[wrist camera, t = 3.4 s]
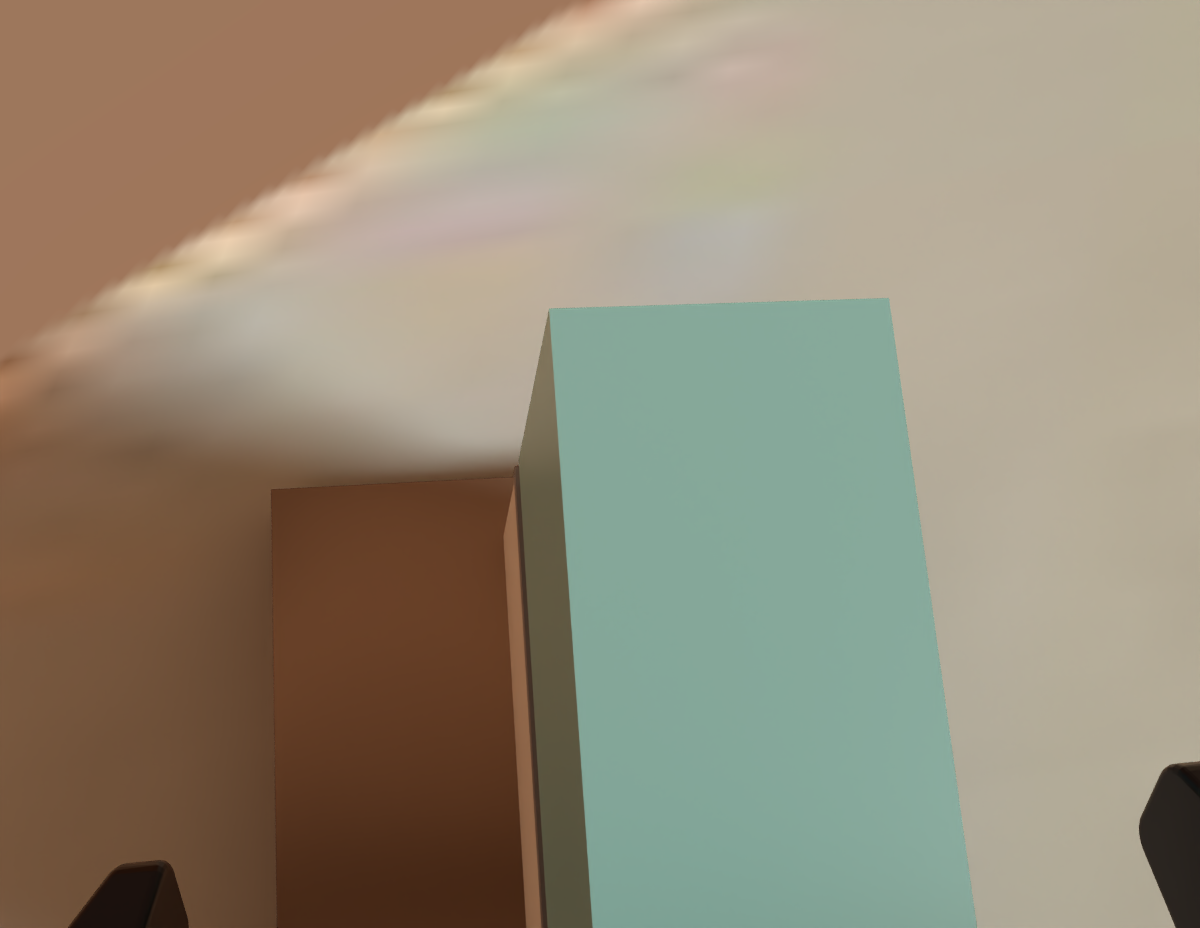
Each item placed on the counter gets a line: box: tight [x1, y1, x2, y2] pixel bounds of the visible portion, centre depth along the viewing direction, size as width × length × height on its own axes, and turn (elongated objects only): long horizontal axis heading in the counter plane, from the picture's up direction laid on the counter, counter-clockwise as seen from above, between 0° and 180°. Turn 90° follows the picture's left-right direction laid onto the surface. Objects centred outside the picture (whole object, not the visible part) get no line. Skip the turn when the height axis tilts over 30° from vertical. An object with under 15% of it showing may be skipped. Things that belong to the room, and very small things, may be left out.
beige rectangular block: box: [503, 466, 548, 928], centre depth 14 cm, size 10×3×6 cm, turn 4°
